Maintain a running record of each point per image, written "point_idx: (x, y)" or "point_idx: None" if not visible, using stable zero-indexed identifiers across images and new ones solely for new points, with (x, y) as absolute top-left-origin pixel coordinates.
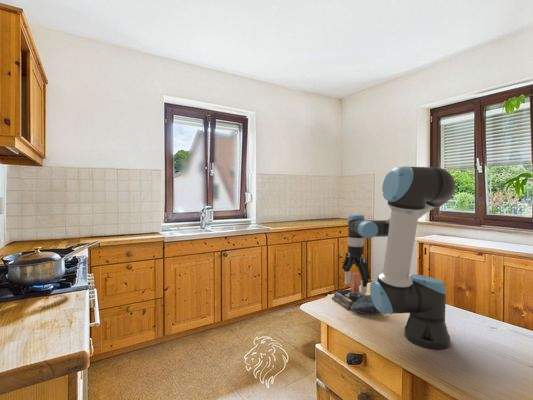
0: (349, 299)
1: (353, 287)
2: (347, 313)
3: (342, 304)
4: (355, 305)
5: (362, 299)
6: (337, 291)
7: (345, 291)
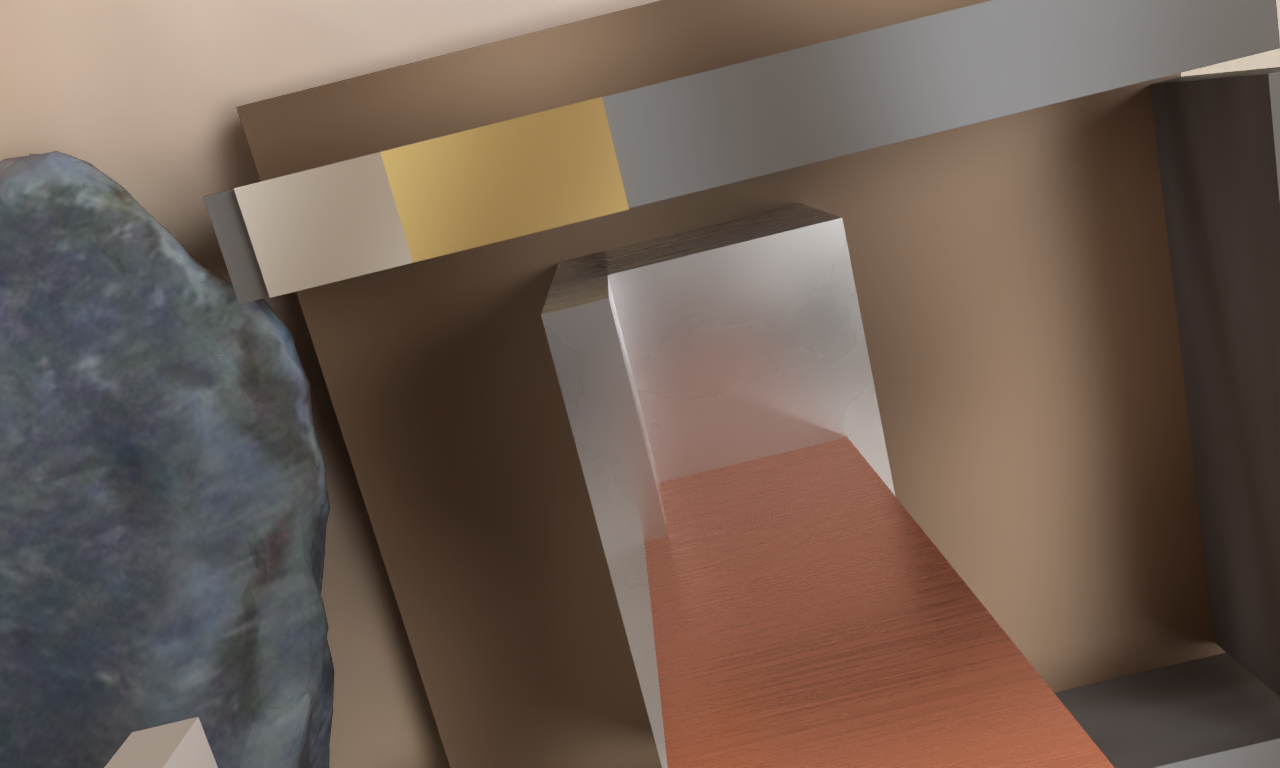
0: (415, 247)
1: (706, 616)
2: (43, 25)
3: (523, 37)
4: (10, 298)
5: (128, 627)
6: (1261, 72)
7: (1263, 395)
